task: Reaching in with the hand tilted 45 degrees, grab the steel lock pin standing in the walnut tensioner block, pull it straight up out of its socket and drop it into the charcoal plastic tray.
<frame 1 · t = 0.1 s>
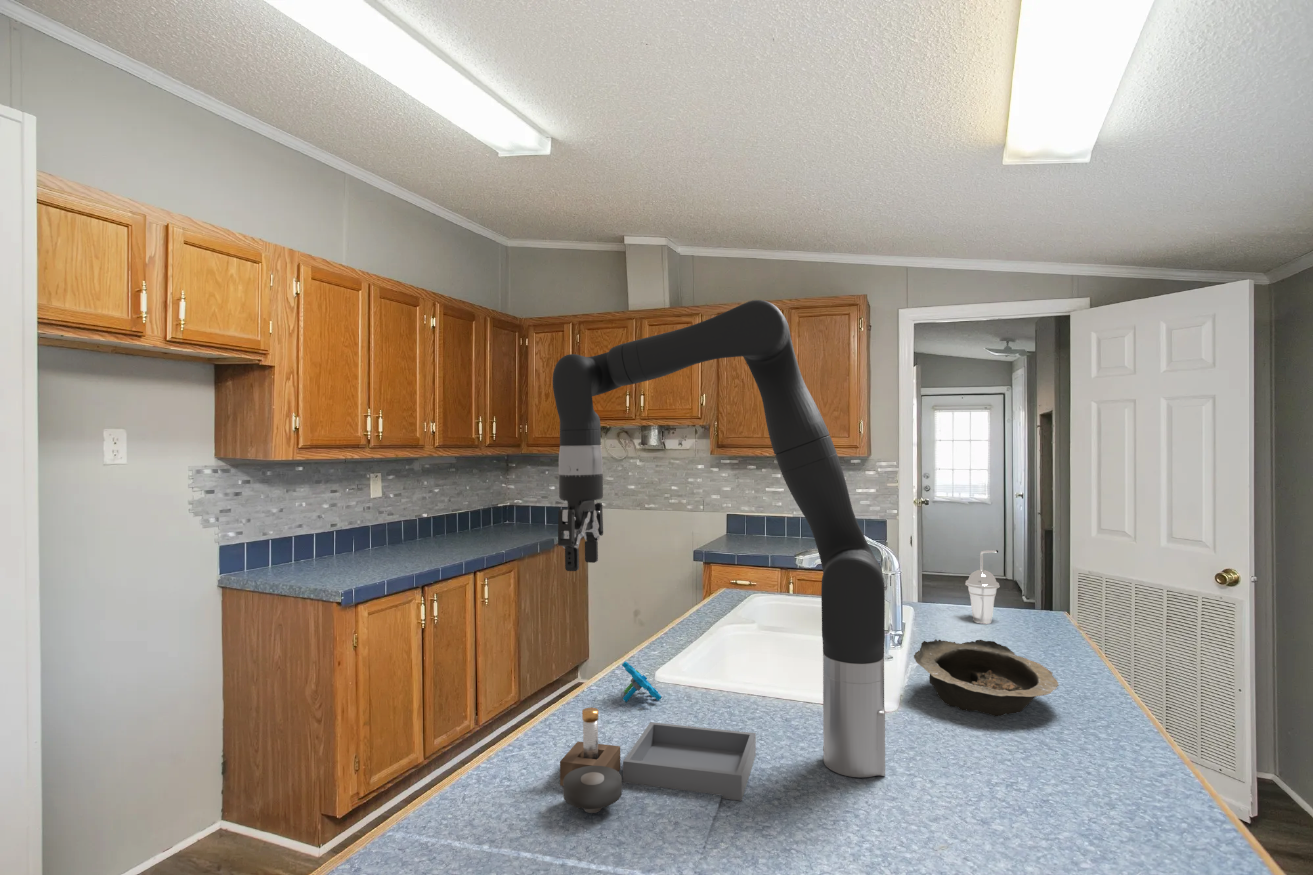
hand: (582, 566, 124), 29 cm above the countertop, tool pointing down, fingers open, 8 cm apart
stone bowl: (984, 702, 138), on the countertop
gear: (641, 700, 141), on the countertop
lock pin: (591, 776, 108), resting on tensioner
tray: (692, 769, 111), on the countertop
cup with straw: (982, 622, 193), on the countertop
tensioner: (591, 780, 108), on the countertop
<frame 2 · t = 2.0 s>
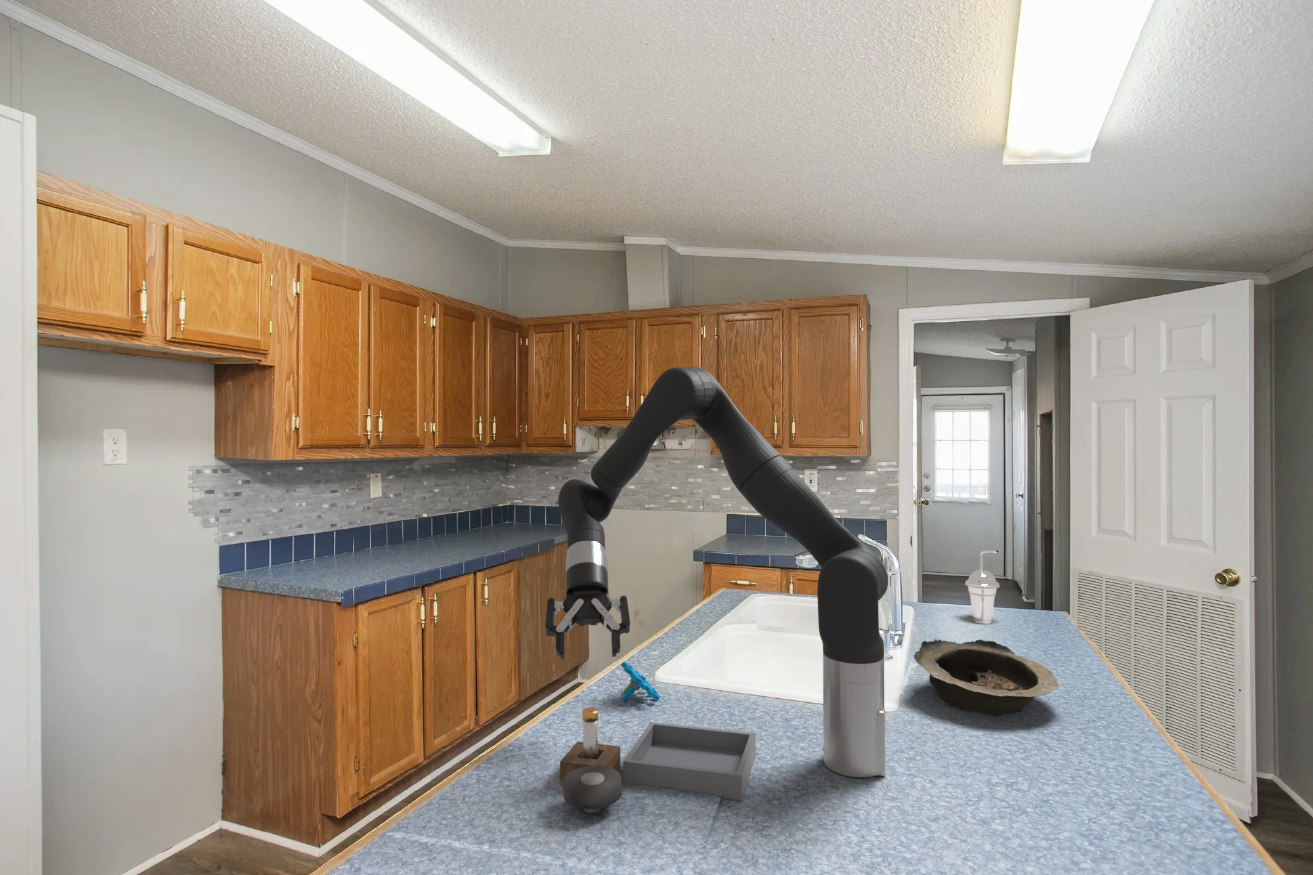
hand: (588, 655, 119), 15 cm above the countertop, tool tilted 45°, fingers open, 8 cm apart
nothing on the countertop moved.
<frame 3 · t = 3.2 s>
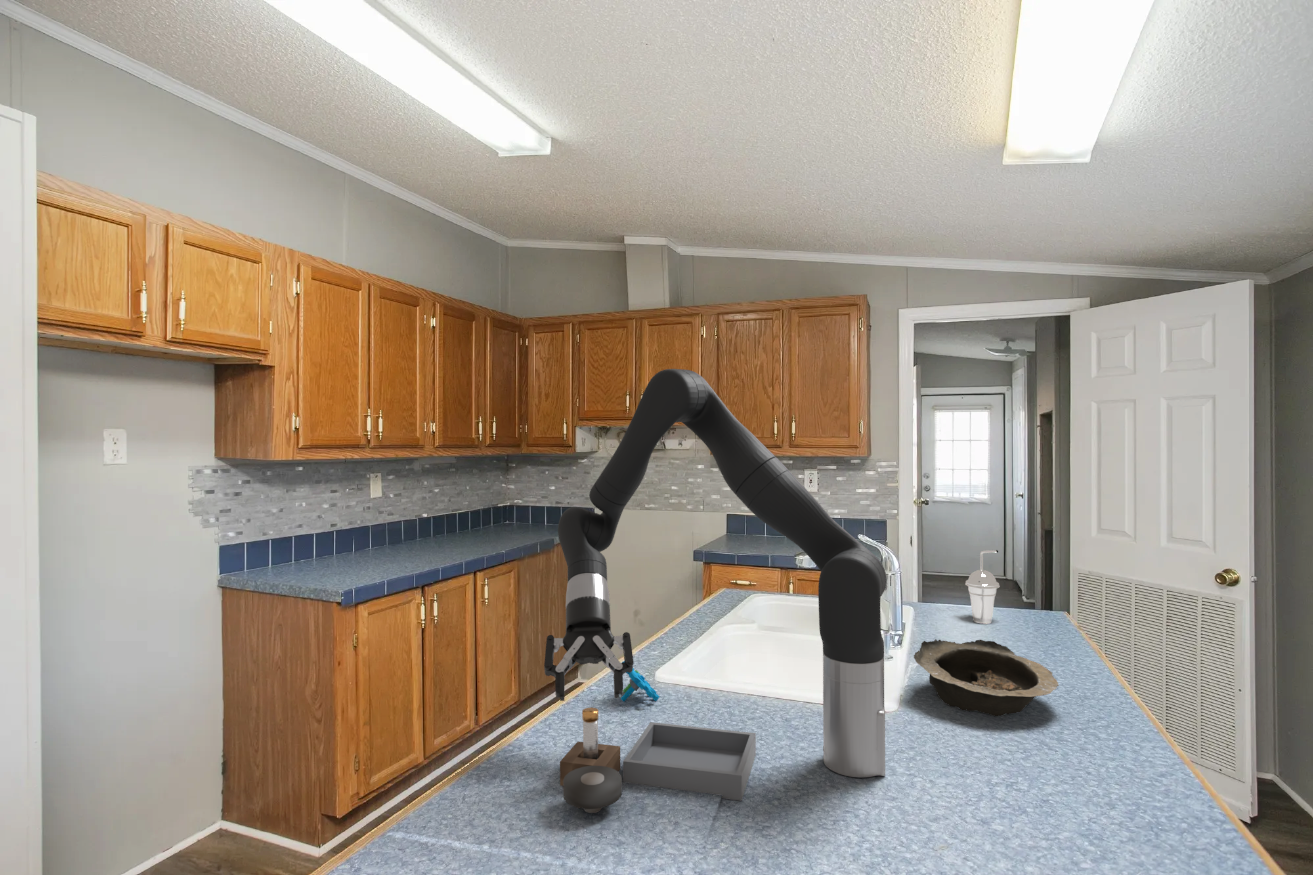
hand: (589, 697, 113), 11 cm above the countertop, tool tilted 45°, fingers open, 8 cm apart
nothing on the countertop moved.
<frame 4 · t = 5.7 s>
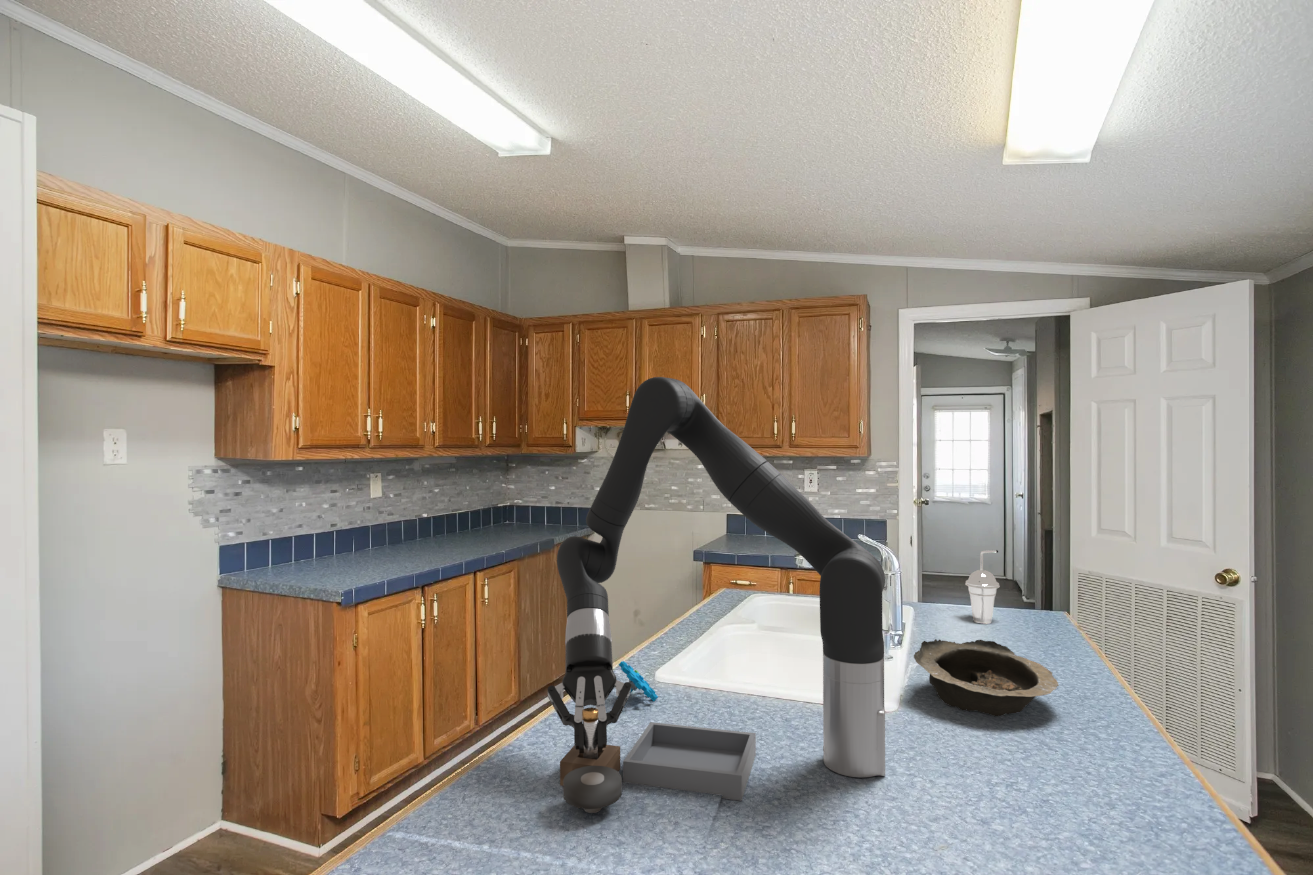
hand: (591, 750, 106), 5 cm above the countertop, tool tilted 45°, fingers closed on lock pin, 2 cm apart
lock pin: (590, 776, 108), resting on tensioner, touching gripper
everything else where it was.
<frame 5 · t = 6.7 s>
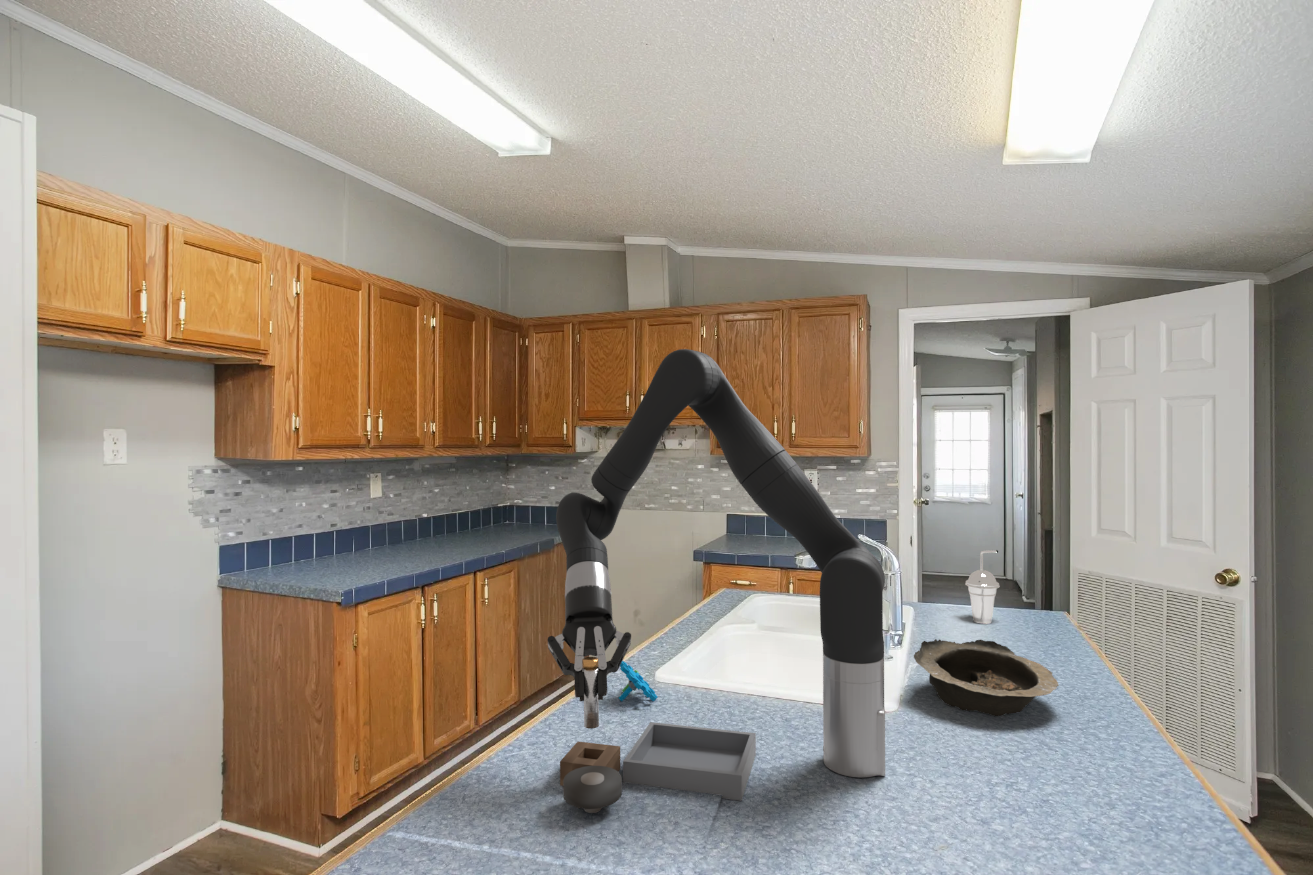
hand: (591, 697, 106), 13 cm above the countertop, tool tilted 45°, fingers closed on lock pin
lock pin: (591, 725, 108), point 8 cm above the countertop, touching gripper
everything else where it was.
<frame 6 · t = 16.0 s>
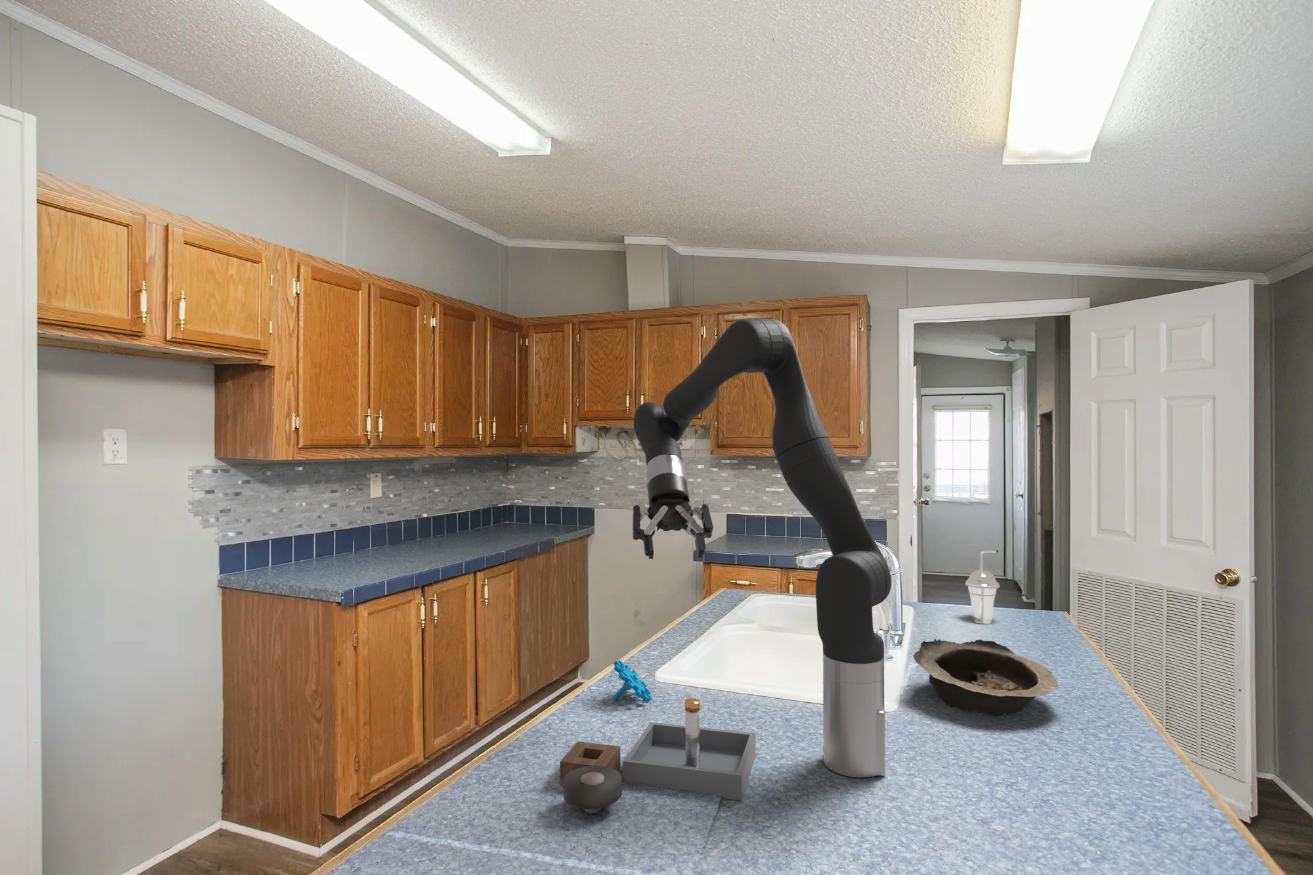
hand: (676, 555, 125), 31 cm above the countertop, tool tilted 45°, fingers open, 8 cm apart
lock pin: (692, 765, 111), point 1 cm above the countertop, touching tray
at the end: lock pin inside the target area on the tray (0.1 cm from its centre), point 0.6 cm above the tray's base; the gripper is holding nothing; lock pin moved 15.7 cm from its start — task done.
